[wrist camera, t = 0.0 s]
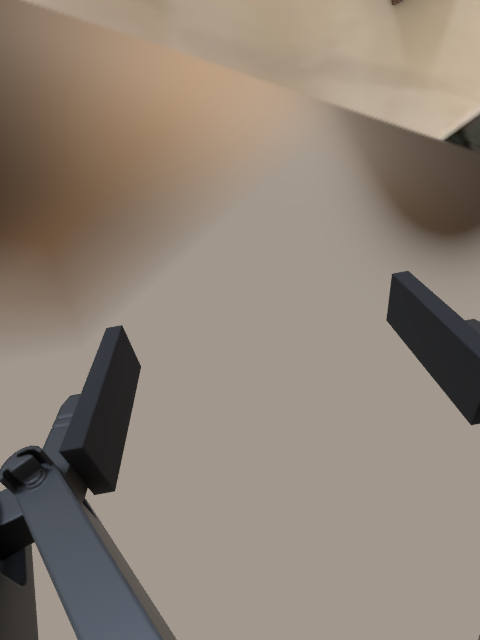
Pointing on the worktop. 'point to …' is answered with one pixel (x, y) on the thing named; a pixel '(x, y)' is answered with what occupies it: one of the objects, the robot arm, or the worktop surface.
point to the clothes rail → (396, 1)
